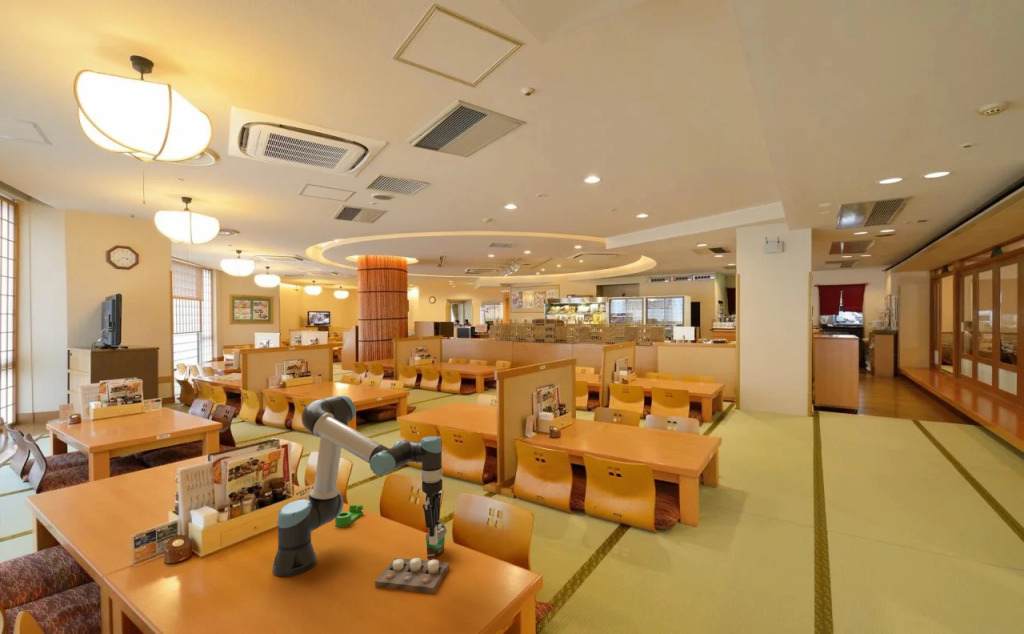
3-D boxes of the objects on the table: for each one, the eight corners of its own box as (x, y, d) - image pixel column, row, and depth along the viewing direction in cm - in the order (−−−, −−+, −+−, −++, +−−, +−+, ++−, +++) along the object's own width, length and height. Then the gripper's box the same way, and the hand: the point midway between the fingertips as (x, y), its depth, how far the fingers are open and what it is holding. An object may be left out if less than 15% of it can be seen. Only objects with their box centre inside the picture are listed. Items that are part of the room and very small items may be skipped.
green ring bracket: (345, 528, 201) (345, 518, 201) (332, 527, 202) (331, 517, 202) (363, 514, 215) (363, 505, 215) (350, 513, 217) (350, 504, 217)
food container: (440, 561, 171) (440, 536, 171) (425, 560, 172) (425, 534, 172) (451, 545, 183) (450, 522, 183) (437, 544, 184) (437, 520, 184)
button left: (390, 573, 162) (390, 564, 162) (395, 567, 166) (395, 558, 166) (400, 574, 162) (400, 565, 162) (405, 568, 166) (405, 559, 166)
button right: (426, 574, 160) (426, 564, 160) (430, 568, 164) (430, 559, 164) (436, 575, 159) (436, 565, 159) (440, 569, 163) (440, 560, 163)
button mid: (408, 572, 161) (408, 563, 161) (412, 566, 165) (412, 557, 165) (418, 573, 160) (418, 564, 160) (422, 567, 164) (422, 558, 164)
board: (375, 586, 155) (375, 580, 155) (395, 562, 171) (395, 557, 171) (433, 593, 151) (433, 587, 151) (449, 568, 166) (449, 562, 166)
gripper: (435, 486, 155) (436, 553, 154) (447, 474, 167) (448, 535, 167) (415, 485, 156) (416, 551, 156) (429, 473, 169) (430, 534, 168)
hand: (433, 543), depth 161 cm, fingers closed
